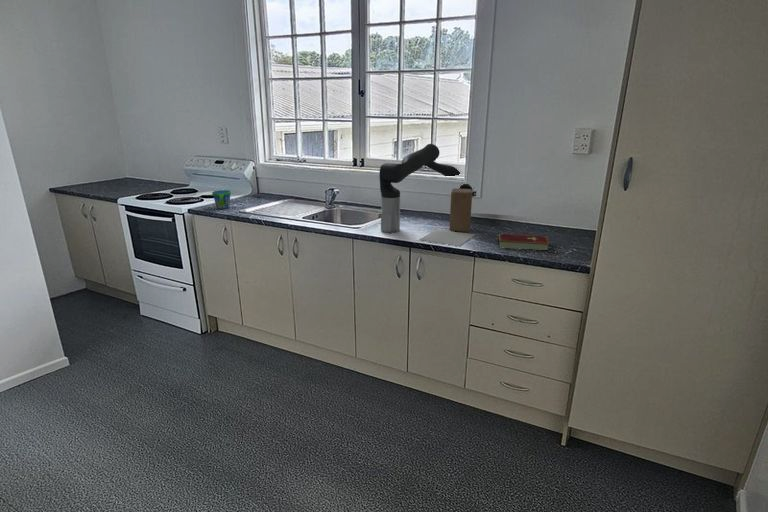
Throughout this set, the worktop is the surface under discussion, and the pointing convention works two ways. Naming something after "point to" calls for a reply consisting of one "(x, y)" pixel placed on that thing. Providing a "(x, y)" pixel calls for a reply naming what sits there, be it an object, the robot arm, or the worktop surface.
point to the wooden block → (460, 210)
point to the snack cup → (222, 198)
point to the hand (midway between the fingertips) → (463, 196)
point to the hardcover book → (523, 241)
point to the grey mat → (447, 237)
